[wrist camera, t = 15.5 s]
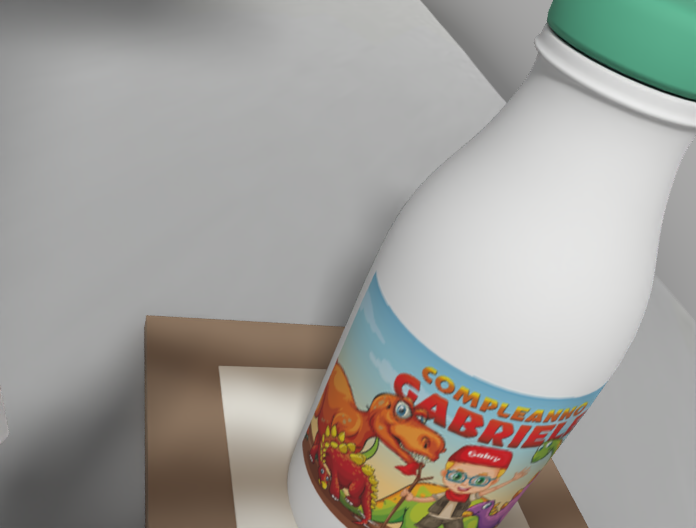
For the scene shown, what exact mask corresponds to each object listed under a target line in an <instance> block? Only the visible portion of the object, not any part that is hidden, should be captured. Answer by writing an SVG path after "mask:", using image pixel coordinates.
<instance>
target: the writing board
mask: <svg viewBox="0 0 696 528" xmlns="http://www.w3.org/2000/svg"><path fill="white" fill-rule="evenodd" d="M344 329H345V327H338V326H320V325H303V324H286V323H269V322H251V321H234V320H217V319H200V318H182V317H165V316H148V315H147V316H146V321H145V327H144V352H145V528H298V527H297V525H296V522H295V519H294V516H293V513H292V509H291V506H290V502H289V496H288V487H287V479H288V470H289V465H290V461H291V458H292V455H293V452H294V450H295V447H296V444H297V441H298V439H299V436H300V434H301V432H302V429H303V427H304V424H305V422H306V419H307V417H308V414H309V412H310V410H311V407H312V405H313V402H314V400H315V398H316V395H317V393H318V390H319V388H320V386H321V383H322V381H323V378H324V376H325V374H326V371H327V369H328V366H329V364H330V362H331V359H332V357H333V354H334V352H335V350H336V347H337V345H338V343H339V340H340V338H341V336H342V333H343V331H344ZM497 528H588V526H587V524H586V522H585V520H584V518H583V516H582V515H581V513H580V511H579V509H578V507H577V505H576V503H575V501H574V500H573V498H572V496H571V494H570V492H569V490H568V488H567V486H566V485H565V483H564V481H563V479H562V477H561V475H560V473H559V471H558V470H557V468H556V466H555V464H554V462H553V460H552V458H550V460H549V461H548V462H547V464H546V465H545V466H544V468H543V469H542V470H541V471H540V473H539V474H538V475H537V477H536V478H535V479H534V480H533V482H532V483H531V484H530V485H529V487H528V488H527V489H526V491H525V492H524V493H523V494H522V496H521V497H520V498H519V500H518V501H517V502H516V503H515V505H514V506H513V507H512V508H511V510H510V511H509V512H508V514H507V515H506V516H505V517H504V519H503V520H502V521H501V523H500V524H499V525H498V526H497Z"/></svg>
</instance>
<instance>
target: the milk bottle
mask: <svg viewBox="0 0 696 528" xmlns="http://www.w3.org/2000/svg"><path fill="white" fill-rule="evenodd" d="M534 44H535V47H536V49H537V51H538V55H537V58H536V61H535V63H534V65H533V67H532V69H531V71H530V73H529V74H528V76H527V78H526V79H525V81H524V82H523V83H522V85H521V86H520V88H519V89H518V90H517V91H516V93H515V94H514V95H513V96H512V98H511V99H510V100H509V101H508V102H507V103H506V105H505V106H504V107H503V108H502V109H501V110H500V112H499V113H498V114H497V115H496V116H495V117H494V118H493V119H492V120H491V121H490V122H489V123H488V124H487V125H486V126H485V127H484V128H483V129H482V130H481V131H480V132H479V133H478V134H477V135H476V136H474V137H473V138H472V139H471V140H470V141H469V142H467V143H466V144H465V145H464V146H463V147H461V148H460V149H459V150H458V151H457V152H455V153H454V154H453V155H452V156H451V157H449V158H448V159H447V160H446V161H445V162H444V163H443V164H441V165H440V166H439V167H438V168H437V169H436V170H435V171H434V172H433V173H432V174H431V175H430V176H429V177H428V178H427V179H426V180H425V181H424V182H423V183H422V184H421V185H420V186H419V187H418V188H417V190H416V191H415V192H414V193H413V195H412V196H411V197H410V199H409V200H408V201H407V203H406V204H405V205H404V207H403V208H402V210H401V211H400V213H399V215H398V216H397V218H396V220H395V221H394V223H393V225H392V226H391V228H390V229H389V231H388V233H387V235H386V237H385V239H384V241H383V243H382V245H381V248H380V250H379V252H378V254H377V256H376V258H375V260H374V262H373V264H372V267H371V269H370V271H369V273H368V275H367V277H366V280H365V282H364V284H363V287H362V289H361V291H360V294H359V296H358V298H357V301H356V303H355V305H354V308H353V310H352V312H351V315H350V317H349V319H348V322H347V324H346V326H345V329H344V331H343V333H342V336H341V338H340V340H339V343H338V345H337V347H336V350H335V352H334V354H333V357H332V359H331V362H330V364H329V366H328V369H327V371H326V374H325V376H324V378H323V381H322V383H321V386H320V388H319V390H318V393H317V395H316V398H315V400H314V402H313V405H312V407H311V410H310V412H309V414H308V417H307V419H306V422H305V424H304V427H303V429H302V432H301V434H300V436H299V439H298V441H297V444H296V447H295V450H294V452H293V455H292V458H291V461H290V465H289V470H288V479H287V487H288V496H289V502H290V506H291V509H292V513H293V516H294V519H295V522H296V525H297V527H298V528H497V526H498V525H499V524H500V523H501V521H502V520H503V519H504V517H505V516H506V515H507V514H508V512H509V511H510V510H511V508H512V507H513V506H514V505H515V503H516V502H517V501H518V500H519V498H520V497H521V496H522V494H523V493H524V492H525V491H526V489H527V488H528V487H529V485H530V484H531V483H532V482H533V480H534V479H535V478H536V477H537V475H538V474H539V473H540V471H541V470H542V469H543V468H544V466H545V465H546V464H547V462H548V461H549V460H550V458H551V457H552V456H553V454H554V453H555V452H556V450H557V449H558V448H559V447H560V445H561V444H562V443H563V441H564V440H565V439H566V437H567V436H568V435H569V433H570V432H571V431H572V430H573V428H574V427H575V426H576V424H577V423H578V422H579V420H580V419H581V418H582V416H583V415H584V414H585V413H586V411H587V410H588V409H589V407H590V406H591V404H592V403H593V401H594V400H595V399H596V397H597V396H598V394H599V393H600V391H601V390H602V389H603V387H604V386H605V384H606V383H607V381H608V380H609V379H610V377H611V376H612V374H613V373H614V371H615V370H616V369H617V367H618V366H619V364H620V363H621V361H622V359H623V358H624V356H625V354H626V352H627V350H628V348H629V347H630V345H631V343H632V341H633V339H634V338H635V336H636V333H637V331H638V328H639V326H640V324H641V321H642V319H643V316H644V314H645V311H646V308H647V304H648V301H649V297H650V294H651V290H652V284H653V279H654V273H655V266H656V259H657V251H658V245H659V238H660V231H661V226H662V221H663V216H664V212H665V208H666V204H667V201H668V197H669V194H670V191H671V187H672V185H673V182H674V179H675V176H676V173H677V170H678V168H679V165H680V162H681V160H682V158H683V156H684V154H685V152H686V150H687V148H688V147H689V145H690V143H691V142H692V140H693V139H694V137H695V136H696V0H553V2H552V4H551V7H550V9H549V12H548V18H547V23H546V24H545V26H544V28H543V30H542V32H541V34H539V35H538V36H536V38H535V41H534Z"/></svg>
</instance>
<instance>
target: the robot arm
mask: <svg viewBox="0 0 696 528" xmlns="http://www.w3.org/2000/svg"><path fill="white" fill-rule="evenodd" d="M8 435H9V429H8V423H7V418H6V413H5V408H4V403H3V397H2V392H1V387H0V444H1V443H2V442H3V441H4V440H5V439H6V438H7V436H8Z"/></svg>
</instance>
